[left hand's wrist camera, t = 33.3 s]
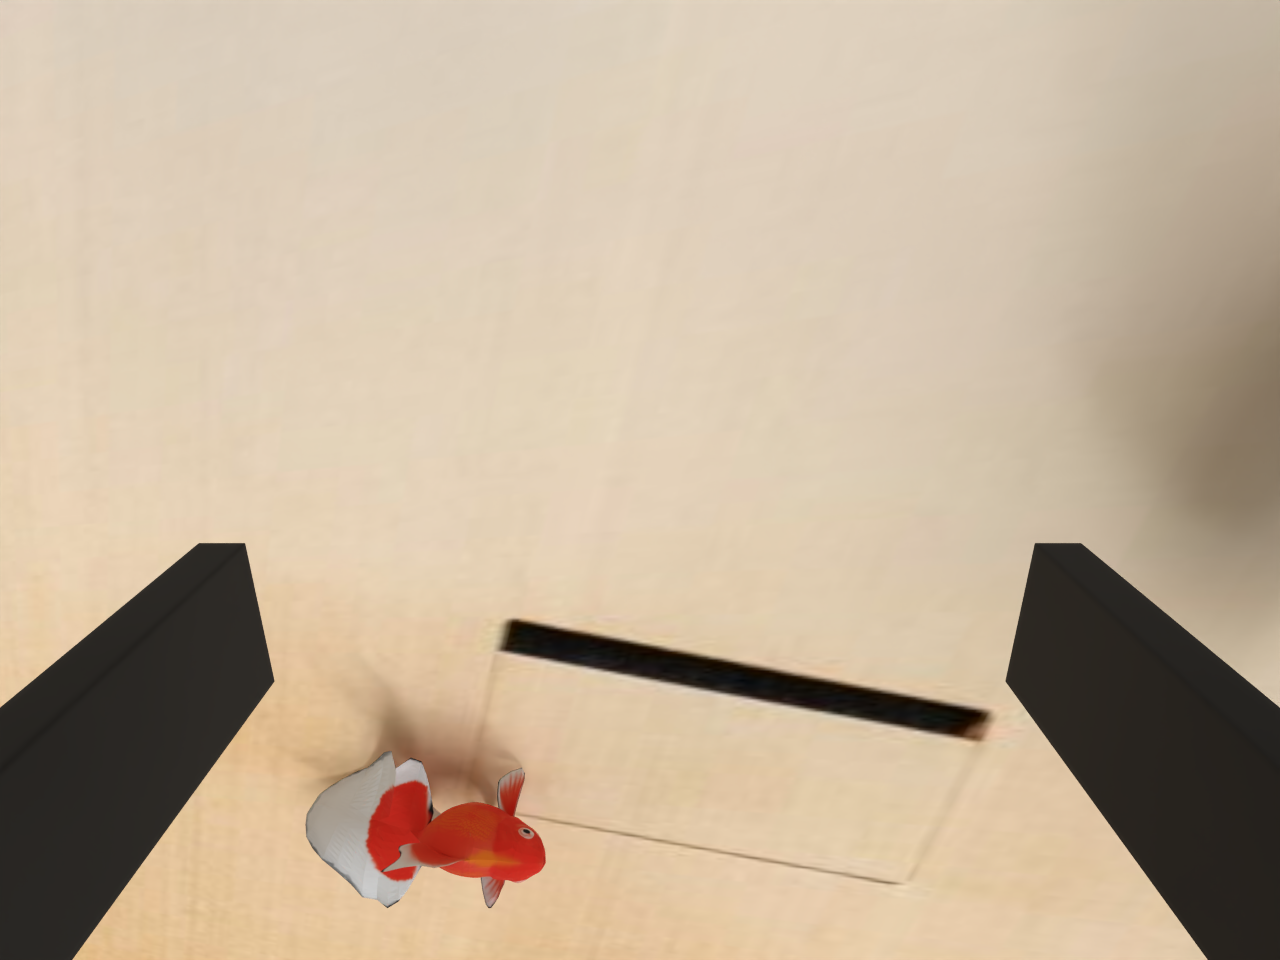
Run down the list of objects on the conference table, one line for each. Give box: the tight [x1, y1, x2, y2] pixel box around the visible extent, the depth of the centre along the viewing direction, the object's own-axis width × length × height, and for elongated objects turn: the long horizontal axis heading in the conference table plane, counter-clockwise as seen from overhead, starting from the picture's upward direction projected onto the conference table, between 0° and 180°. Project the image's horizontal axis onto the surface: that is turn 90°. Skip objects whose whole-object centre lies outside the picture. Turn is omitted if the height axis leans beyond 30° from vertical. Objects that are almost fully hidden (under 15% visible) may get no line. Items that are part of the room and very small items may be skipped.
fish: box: [306, 751, 546, 908], centre depth 48 cm, size 11×16×10 cm
